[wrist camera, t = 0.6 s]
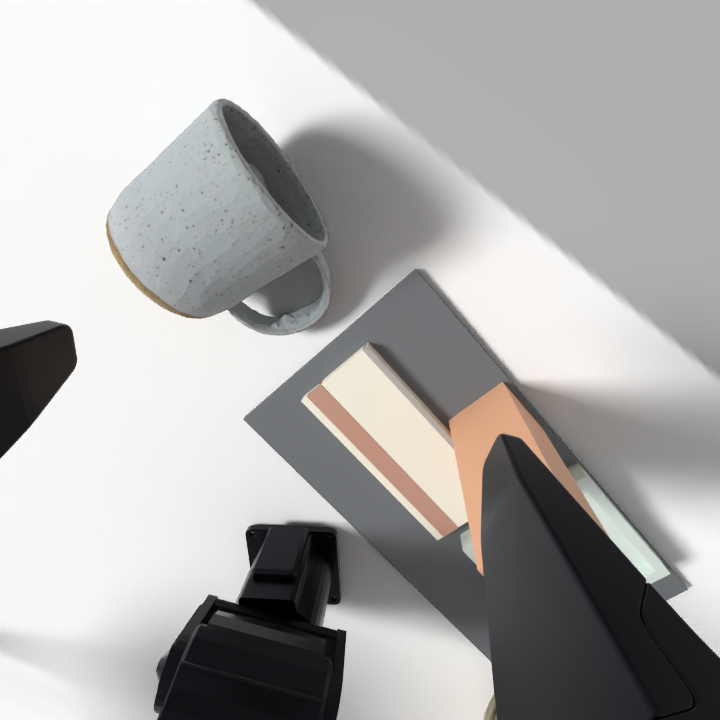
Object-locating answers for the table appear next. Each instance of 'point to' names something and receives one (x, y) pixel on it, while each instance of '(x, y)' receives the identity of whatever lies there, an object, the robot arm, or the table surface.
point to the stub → (476, 439)
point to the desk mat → (445, 400)
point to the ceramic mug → (219, 223)
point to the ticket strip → (393, 438)
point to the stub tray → (606, 529)
